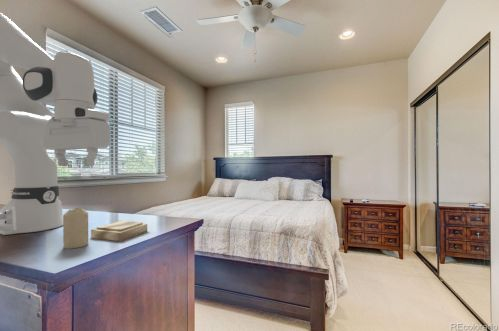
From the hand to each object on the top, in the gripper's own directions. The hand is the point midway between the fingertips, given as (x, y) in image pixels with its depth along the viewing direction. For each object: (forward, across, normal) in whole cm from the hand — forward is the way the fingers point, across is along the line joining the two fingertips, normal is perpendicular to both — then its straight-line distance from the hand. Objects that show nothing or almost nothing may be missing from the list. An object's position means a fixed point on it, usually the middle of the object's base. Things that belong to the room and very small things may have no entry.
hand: (75, 166), depth 67 cm
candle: (+22, 0, 0) cm, 22 cm away
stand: (+21, +3, +12) cm, 25 cm away
